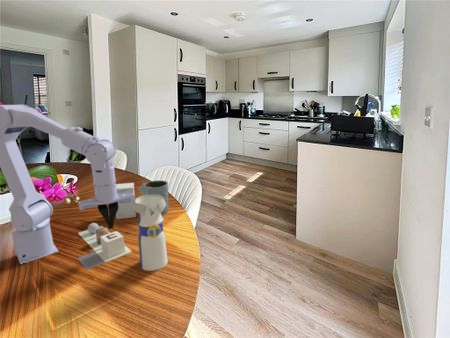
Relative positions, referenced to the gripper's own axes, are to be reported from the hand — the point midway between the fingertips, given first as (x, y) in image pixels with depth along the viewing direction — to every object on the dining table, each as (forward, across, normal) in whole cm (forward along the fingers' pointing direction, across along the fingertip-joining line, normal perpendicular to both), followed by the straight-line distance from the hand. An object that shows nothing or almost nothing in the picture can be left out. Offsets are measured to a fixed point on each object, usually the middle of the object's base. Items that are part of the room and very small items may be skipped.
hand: (110, 227), depth 80 cm
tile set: (+8, +2, -8) cm, 12 cm away
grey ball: (+8, +4, -16) cm, 19 cm away
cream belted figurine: (+9, -9, +12) cm, 18 cm away
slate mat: (+8, +6, +2) cm, 11 cm away
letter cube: (+8, 0, 0) cm, 8 cm away
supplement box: (+9, -8, -27) cm, 30 cm away
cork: (+8, +2, -8) cm, 12 cm away
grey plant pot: (+9, -20, -25) cm, 33 cm away
